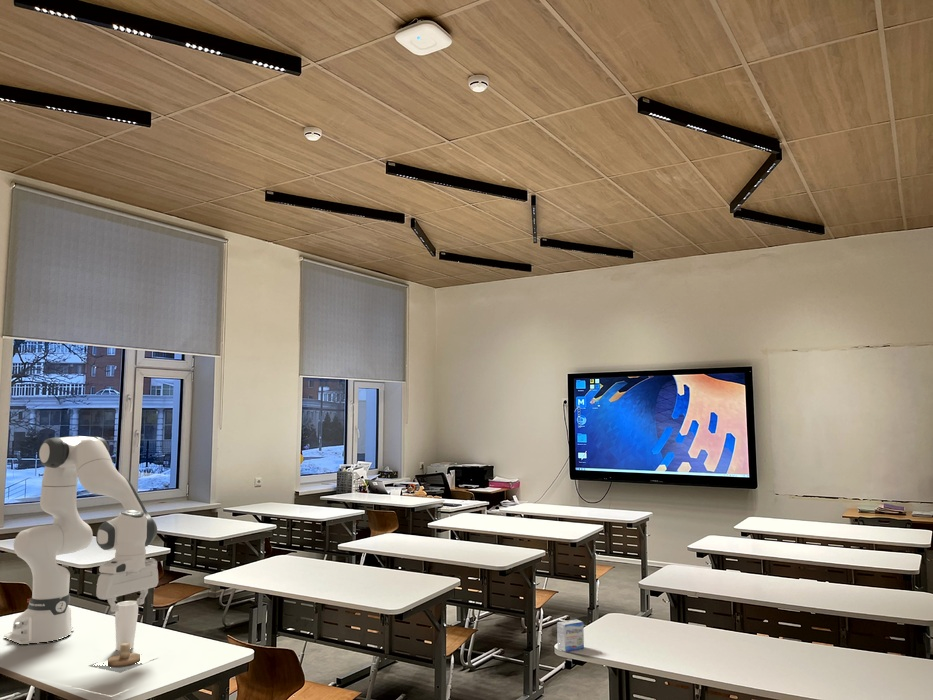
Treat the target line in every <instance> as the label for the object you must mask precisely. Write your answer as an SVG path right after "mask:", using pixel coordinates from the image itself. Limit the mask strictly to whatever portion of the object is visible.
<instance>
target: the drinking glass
mask: <svg viewBox="0 0 933 700" xmlns="http://www.w3.org/2000/svg"><path fill="white" fill-rule="evenodd" d="M116 605H119V608H118V609H119V610H118V611H116V612H114V615H115V616H114V618H115V619H114V621H115V623H114V624H115V651H116V650H120V645H121V644H123V643H130V648H133V649H134V646H135V637H136V631H137V622H138V617H139V616H138V615H139V605H137V600H124V601H120V602H117V603H116Z"/></svg>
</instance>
